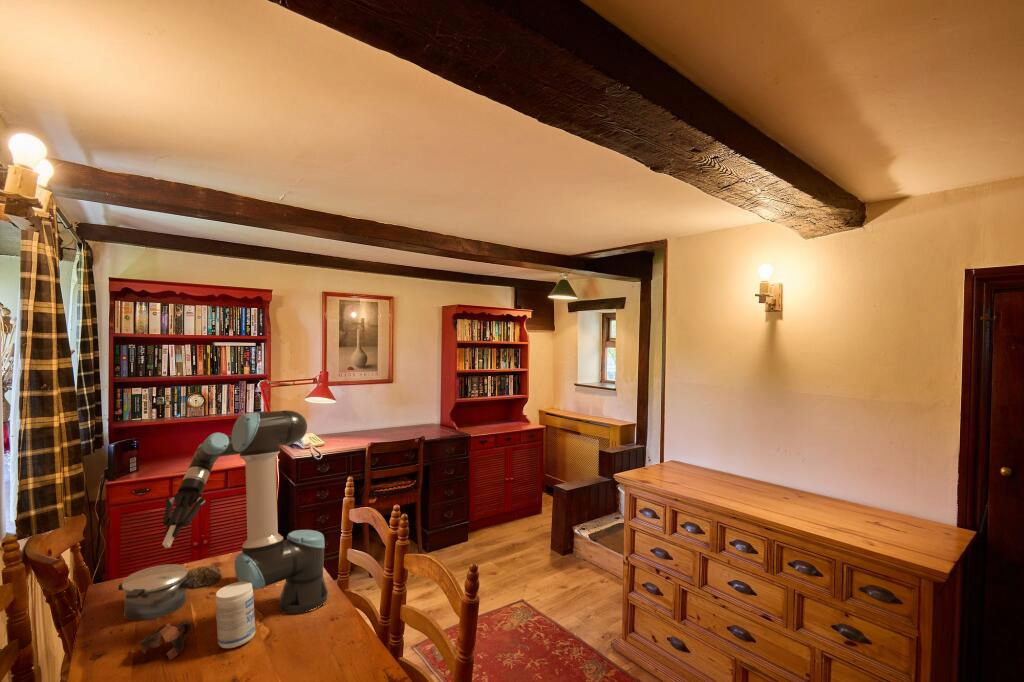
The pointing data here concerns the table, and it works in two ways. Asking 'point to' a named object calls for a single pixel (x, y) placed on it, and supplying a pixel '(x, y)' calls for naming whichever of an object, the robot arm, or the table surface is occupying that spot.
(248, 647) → the table surface
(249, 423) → the robot arm
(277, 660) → the table surface
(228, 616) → the supplement tub
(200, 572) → the speckled stone
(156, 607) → the cooker pot
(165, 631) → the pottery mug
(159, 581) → the lid
